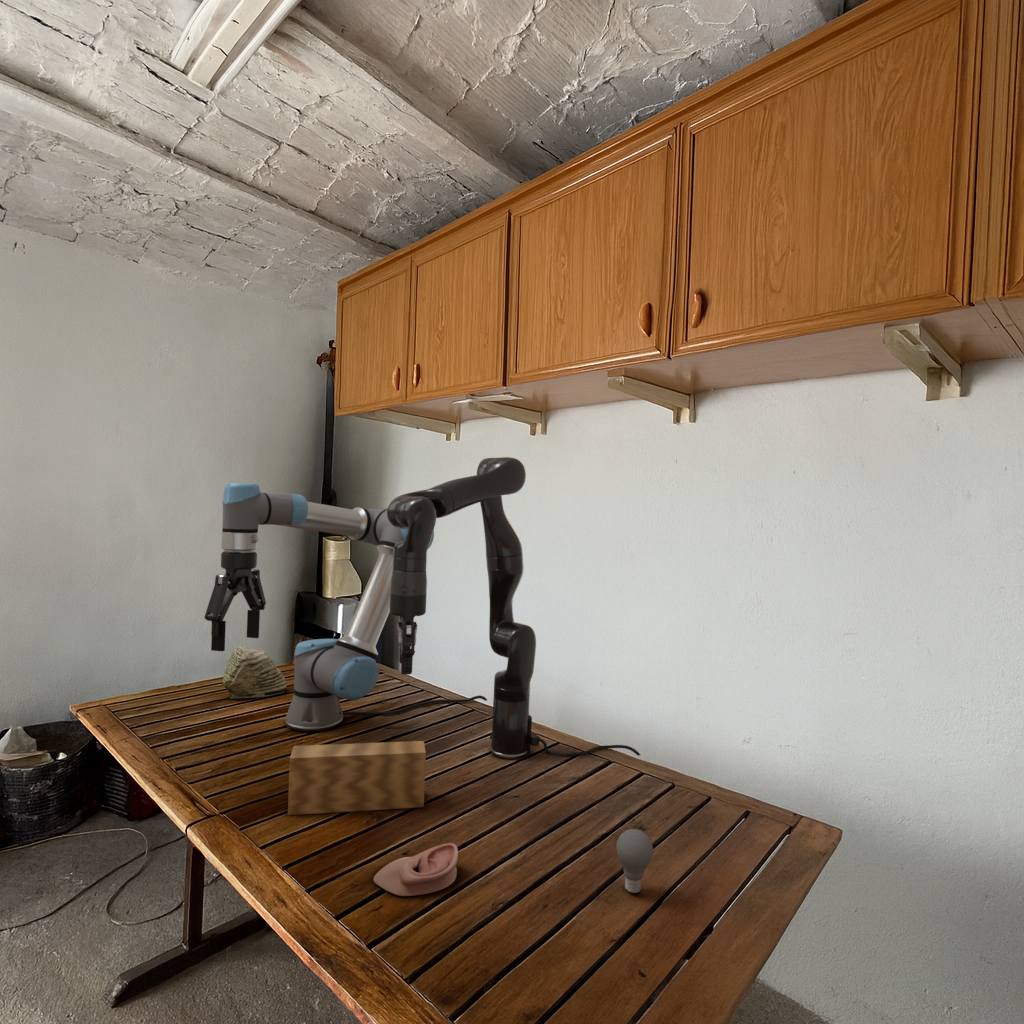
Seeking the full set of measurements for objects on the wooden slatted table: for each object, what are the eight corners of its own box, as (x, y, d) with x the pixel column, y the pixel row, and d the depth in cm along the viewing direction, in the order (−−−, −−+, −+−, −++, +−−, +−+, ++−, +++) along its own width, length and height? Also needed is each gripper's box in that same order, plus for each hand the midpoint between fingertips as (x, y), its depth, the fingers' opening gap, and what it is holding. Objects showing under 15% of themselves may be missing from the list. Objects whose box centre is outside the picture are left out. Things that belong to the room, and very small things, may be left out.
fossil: (218, 695, 195) (220, 647, 195) (278, 685, 208) (279, 640, 207) (228, 703, 189) (230, 653, 188) (289, 692, 201) (290, 645, 201)
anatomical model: (366, 866, 102) (393, 830, 114) (365, 890, 103) (392, 852, 114) (444, 879, 100) (464, 841, 111) (443, 904, 100) (463, 864, 111)
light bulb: (610, 879, 108) (613, 822, 108) (644, 879, 109) (647, 822, 109) (619, 902, 102) (622, 840, 102) (655, 901, 103) (658, 840, 103)
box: (287, 815, 126) (289, 758, 125) (291, 800, 132) (293, 745, 131) (423, 807, 131) (425, 752, 131) (421, 793, 137) (423, 740, 137)
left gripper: (221, 556, 131) (217, 658, 131) (282, 548, 156) (279, 633, 156) (188, 554, 132) (184, 655, 133) (254, 546, 157) (251, 631, 157)
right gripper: (429, 597, 126) (426, 677, 127) (424, 586, 140) (421, 659, 140) (391, 596, 125) (387, 678, 125) (389, 586, 139) (386, 660, 139)
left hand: (236, 644), depth 144 cm, fingers open, 13 cm apart
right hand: (405, 668), depth 133 cm, fingers open, 8 cm apart
